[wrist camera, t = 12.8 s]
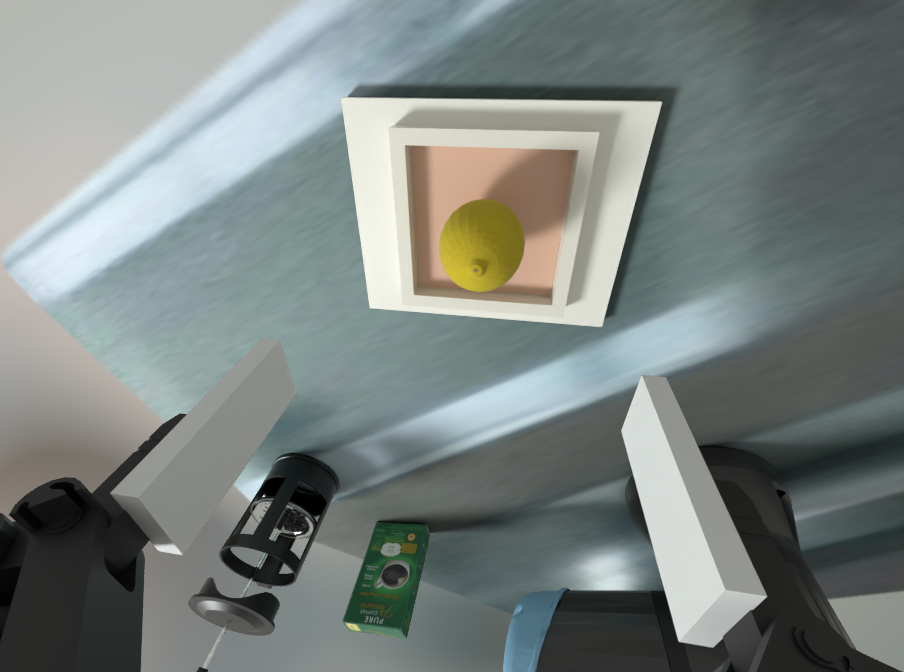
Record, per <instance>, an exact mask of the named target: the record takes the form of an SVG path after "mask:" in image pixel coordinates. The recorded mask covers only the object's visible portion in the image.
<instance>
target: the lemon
mask: <svg viewBox="0 0 904 672" xmlns="http://www.w3.org/2000/svg"><path fill="white" fill-rule="evenodd" d="M524 247H525V238H524V232H523V228H522V226H521V224H520V221H519V219H518V218H517V216H516V215H515V214H514V213H513V212H512V210H511V209H509V208H508V207H506V206H505V205H504V204H502V203H499V202H497V201H494V200H487V199H480V200H473V201H470V202H468V203H466V204H464V205H462V206H460V207H459V208H458V209H457V210H455V211H454V212H453V213H452V214H451V216H450V217H449V218H448V220H447V221H446V223H445V225H444V228H443V230H442V233H441V236H440V245H439V251H440V258H441V262H442V265H443V267H444V270H445V272H446V273H447V274H448V276H449V277H450V278H451V280H452V281H454V282H455V283H456V284H457V285H458V286H460V287H462V288H464V289H466V290H470V291H474V292H486V291H491V290H494V289H496V288H498V287H500V286H502V285H504V284H505V283H506V282H507V281H508V280H510V279H511V278H512V276H513V275H514V273H515V272H516V271H517V269H518V268H519V266H520V263H521V260H522V258H523V255H524Z"/></svg>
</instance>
